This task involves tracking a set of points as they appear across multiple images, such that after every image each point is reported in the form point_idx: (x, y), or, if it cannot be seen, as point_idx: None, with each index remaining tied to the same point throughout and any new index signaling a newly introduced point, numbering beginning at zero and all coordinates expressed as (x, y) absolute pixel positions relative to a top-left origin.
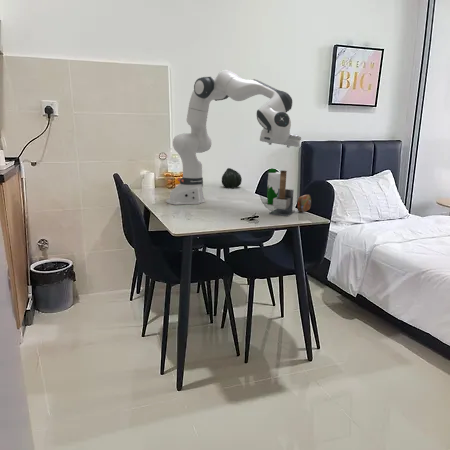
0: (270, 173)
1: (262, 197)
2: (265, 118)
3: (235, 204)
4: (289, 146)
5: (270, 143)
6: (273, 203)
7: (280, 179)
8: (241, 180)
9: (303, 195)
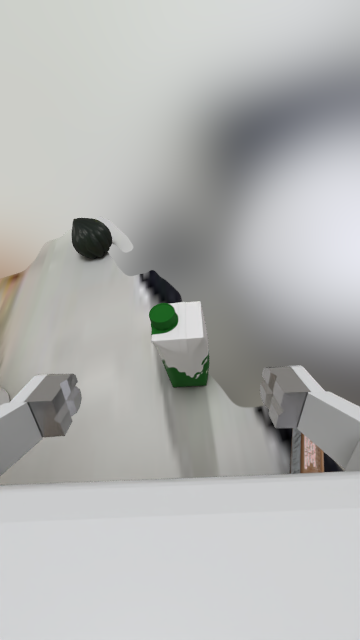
0: (159, 341)
1: None
2: None
3: (85, 423)
4: (317, 435)
5: (50, 434)
6: None
7: None
8: (110, 237)
9: (305, 442)
